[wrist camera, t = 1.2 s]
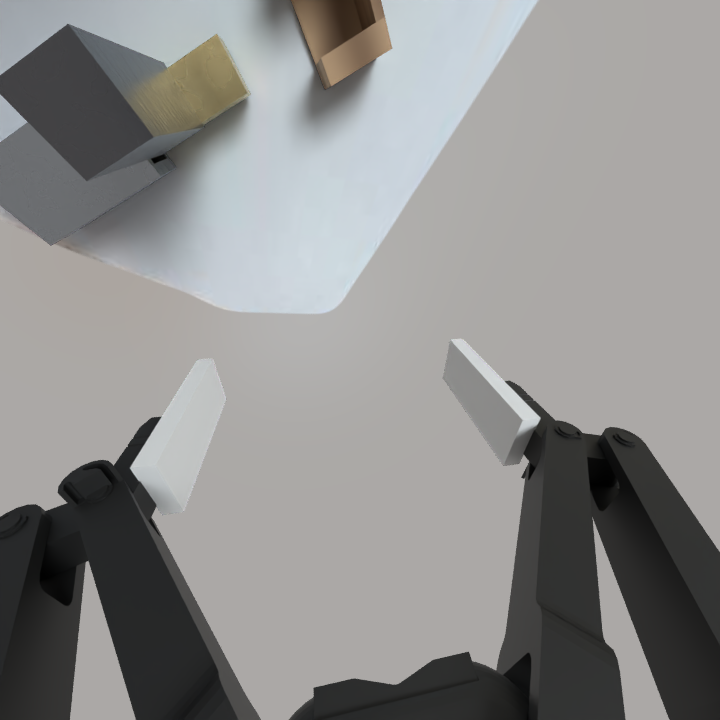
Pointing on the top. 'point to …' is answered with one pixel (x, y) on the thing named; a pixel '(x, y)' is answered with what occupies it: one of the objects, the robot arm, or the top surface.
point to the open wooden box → (342, 35)
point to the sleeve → (63, 186)
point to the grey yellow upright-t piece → (118, 98)
